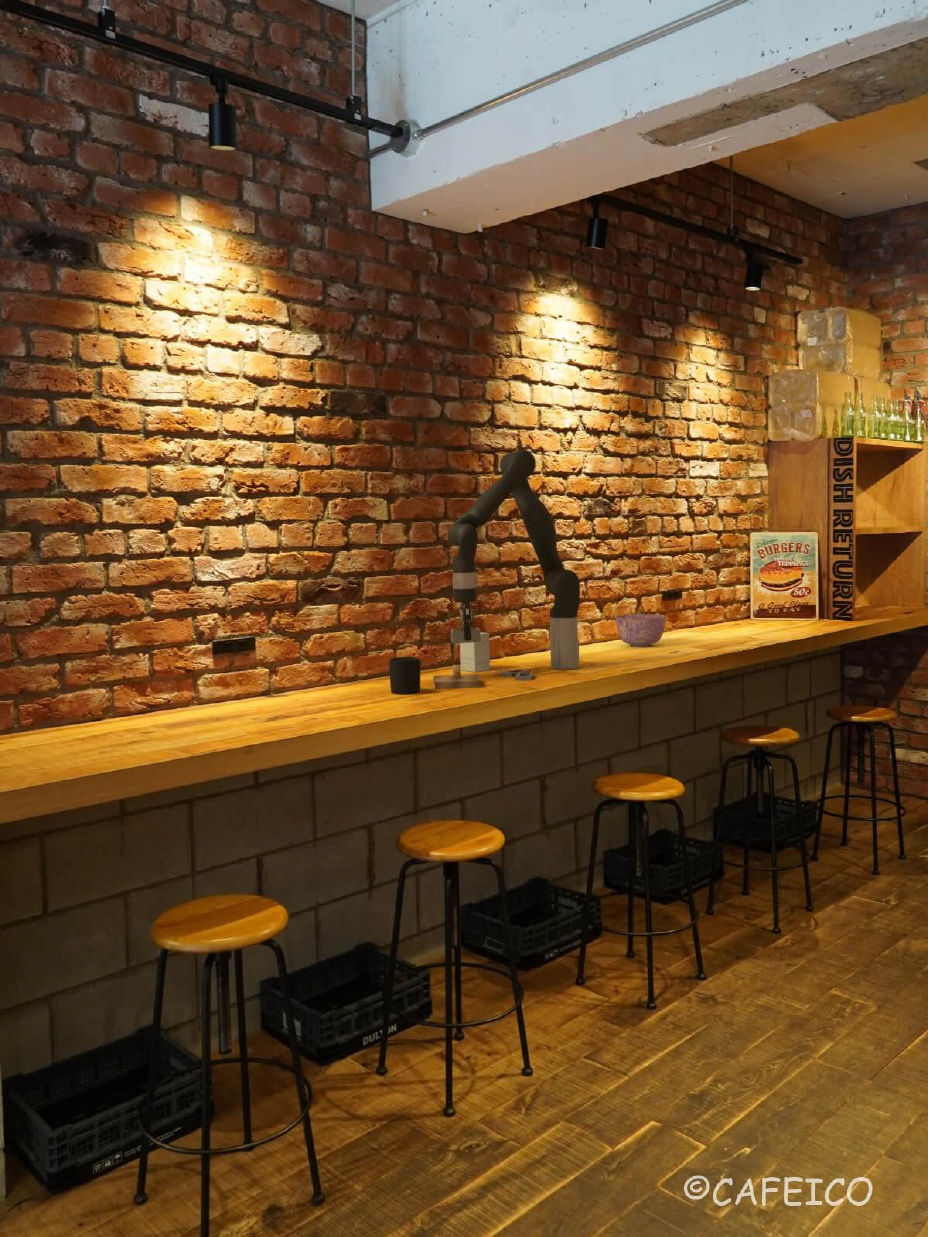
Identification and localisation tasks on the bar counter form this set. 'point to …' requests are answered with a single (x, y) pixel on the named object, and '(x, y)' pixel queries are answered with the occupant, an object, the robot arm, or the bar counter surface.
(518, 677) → the slack link
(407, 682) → the pen holder
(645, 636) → the purple bowl
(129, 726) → the bar counter surface
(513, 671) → the slack link
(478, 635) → the end link
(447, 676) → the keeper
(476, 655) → the supplement box
